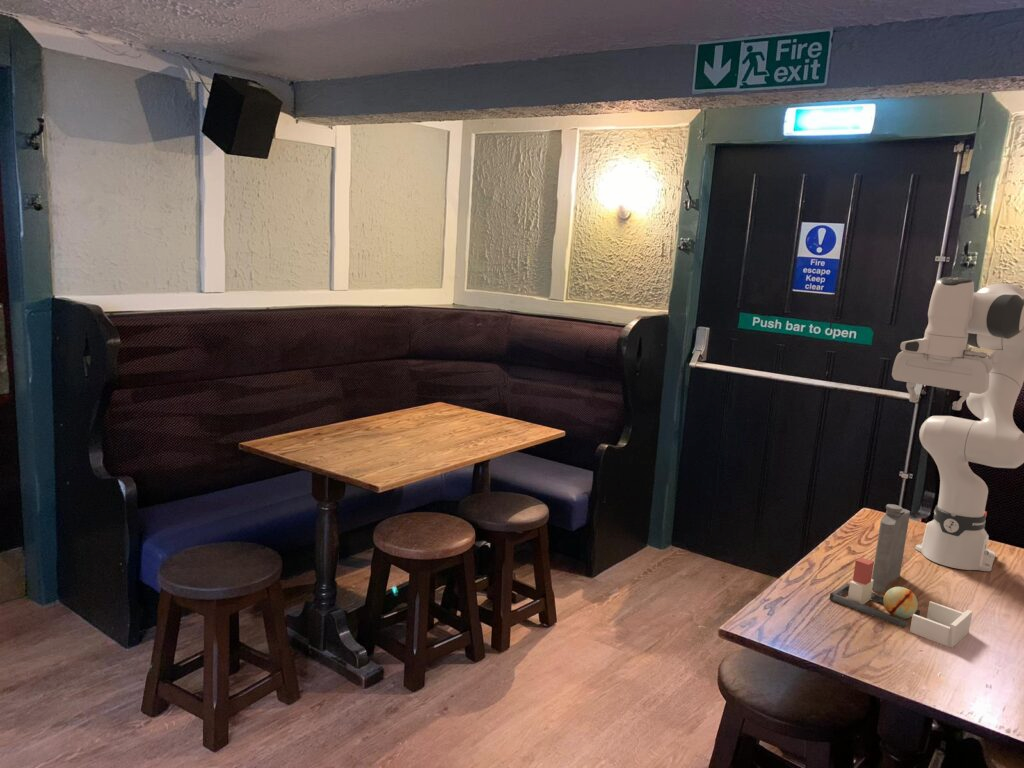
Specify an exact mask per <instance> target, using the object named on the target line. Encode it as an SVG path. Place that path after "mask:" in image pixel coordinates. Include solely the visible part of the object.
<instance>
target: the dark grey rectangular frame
mask: <svg viewBox="0 0 1024 768" xmlns="http://www.w3.org/2000/svg"><path fill="white" fill-rule="evenodd" d="M849 586H850V583H845V584H843V585H841V586H840V587H838V588H837V589H835V590H834V591H832V592H830V594H829V601H833V602H835V603H838V604H840V605H843V606H846V607H848V608H851V609H854V610H856V611H858V610H859V612H861V613H864V614H866V613H867V615H869V614H870V615H869V616H871V615H873V616H872V617H874V616H875V617H874V618H877V619H879V618H880V620H882V619H883V620H882V621H885V622H887V621H888V623H890V624H892V623H893V625H895V624H896V625H895V626H897V627H900V626H901V627H900V628H902V629H905V628H906V625H907V620H906V619H901V618H898V617H895V616H893V615H891V614H889V613H888V612H884V611H883V610H879V609H876V608H874V607H871V606H868V605H866V604H861V603H858V602H856V601H853V600H850V599H848V597H845V596H843V595H844V594H846V593H848V592H849ZM871 599H872V601H874V602H878V603H879V602H880V603H879V604H883V605H884V602H883V599H884V595H881V594H878V593H877V592H874V591H872V594H871ZM921 611H922V610H921V609H919V608H917V611H916V612H915V614H916V615H918V616H921Z"/></svg>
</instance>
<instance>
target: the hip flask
mask: <svg viewBox="0 0 1024 768" xmlns="http://www.w3.org/2000/svg"><path fill="white" fill-rule="evenodd" d="M885 509H886V512H885V514H884V515H883V516H882V517H881V519H880V523H879V530H878V536H877V537H878V538H877V543H876V551H875V556H874V565H873V572H872V578H871V579H873V580H874V581H873V587H872V590H873V591H872V592H874V593H878V592H880V593H879V594H881V593H883V594H884V593H886V592H885V591H886V589H887V587H888V586H889V584H890V583H891V582H893V581H895V580H897V579H899V578H900V577H901V571H902V566H903V558H904V553H905V552H904V551H905V547H906V541H907V534H908V529H909V522H910V517H911V516H910V515H911V511H910V510H908V509H907V508H903V507H902V506H901V505H897V504H891V503H888V504H886V505H885Z"/></svg>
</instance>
